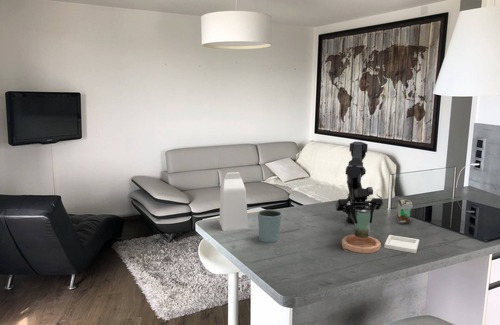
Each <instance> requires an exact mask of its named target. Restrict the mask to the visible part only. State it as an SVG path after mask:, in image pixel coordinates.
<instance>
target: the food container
mask: <svg viewBox="0 0 500 325" xmlns="http://www.w3.org/2000/svg"><path fill="white" fill-rule="evenodd" d="M396 201H397V206H396V219H397V221H398V224H400V225H405V224H408V223H410V216H411V211H412V208H413V206H414V205H413V203H412V201H411V200H409V199H406V198H400V197H397V200H396Z"/></svg>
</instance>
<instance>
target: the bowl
mask: <svg viewBox="0 0 500 325" xmlns="http://www.w3.org/2000/svg"><path fill="white" fill-rule="evenodd" d="M381 245H382V242H380V240H379V239H378V238H375V237H373V236H370V235H369V237H366V238H361V237H357V236H355V235H354V234H349V235H346V236H344V237H343V238H342V239H341V246H342V249H343V250H345V249H346V250H349V251H351V252H354V253H359V254H372V253H373V254H374V253H376V252H379V251H380V250H381V248H382V246H381Z"/></svg>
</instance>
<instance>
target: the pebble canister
mask: <svg viewBox="0 0 500 325" xmlns="http://www.w3.org/2000/svg"><path fill="white" fill-rule="evenodd" d="M370 213H371V209H369V208H367V206H366V207H357V208H355V217H356V222H357V223H356V224H355V223H354V228H353V229H354V230H353V232H354V233H353V235H355V236H357V237H361V238H366V237H369V236H370V231H371V230H370V228H371V226H370V225H371V223H370Z"/></svg>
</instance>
